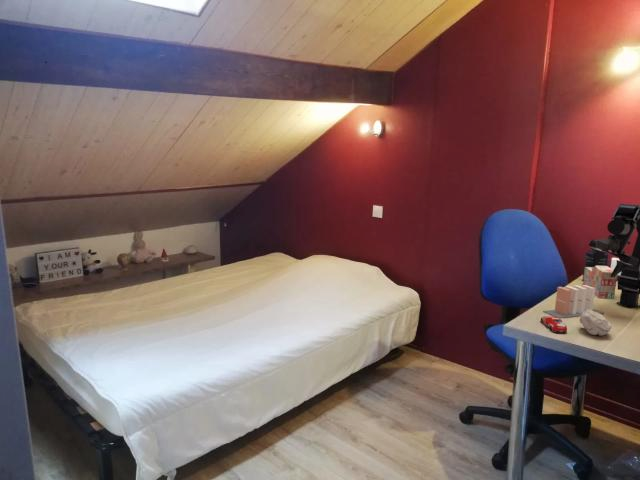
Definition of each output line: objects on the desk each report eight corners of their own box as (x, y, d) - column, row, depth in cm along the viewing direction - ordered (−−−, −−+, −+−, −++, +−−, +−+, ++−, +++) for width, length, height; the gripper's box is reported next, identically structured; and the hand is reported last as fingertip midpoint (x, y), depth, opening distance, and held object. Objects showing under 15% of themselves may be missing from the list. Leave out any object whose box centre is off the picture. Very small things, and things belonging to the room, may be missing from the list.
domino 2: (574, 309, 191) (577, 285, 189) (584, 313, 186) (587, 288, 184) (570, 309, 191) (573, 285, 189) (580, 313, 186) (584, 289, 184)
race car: (538, 321, 179) (539, 311, 178) (553, 322, 178) (554, 311, 177) (552, 334, 166) (553, 323, 165) (568, 335, 165) (569, 324, 164)
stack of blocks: (582, 285, 229) (585, 260, 227) (596, 286, 228) (599, 261, 225) (598, 298, 208) (602, 271, 206) (614, 299, 207) (618, 272, 205)
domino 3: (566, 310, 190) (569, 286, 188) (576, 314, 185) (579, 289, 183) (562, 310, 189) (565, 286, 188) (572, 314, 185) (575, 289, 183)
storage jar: (579, 282, 234) (583, 252, 231) (584, 278, 241) (588, 249, 239) (602, 286, 228) (607, 255, 225) (606, 282, 235) (610, 252, 232)
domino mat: (586, 307, 195) (587, 306, 195) (603, 313, 187) (603, 312, 187) (543, 311, 188) (543, 310, 188) (558, 318, 181) (558, 317, 181)
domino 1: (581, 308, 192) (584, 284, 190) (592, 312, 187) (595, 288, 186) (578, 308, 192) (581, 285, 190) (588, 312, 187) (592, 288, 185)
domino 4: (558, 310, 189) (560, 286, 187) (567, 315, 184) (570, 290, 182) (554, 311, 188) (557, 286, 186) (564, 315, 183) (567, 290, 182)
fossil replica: (594, 326, 174) (570, 330, 172) (594, 304, 173) (569, 308, 171) (620, 336, 162) (595, 340, 160) (620, 313, 161) (595, 316, 159)
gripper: (588, 223, 189) (570, 258, 193) (628, 240, 172) (607, 278, 176) (607, 229, 193) (589, 263, 197) (648, 246, 176) (627, 283, 180)
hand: (602, 271), depth 188 cm, fingers open, 9 cm apart
